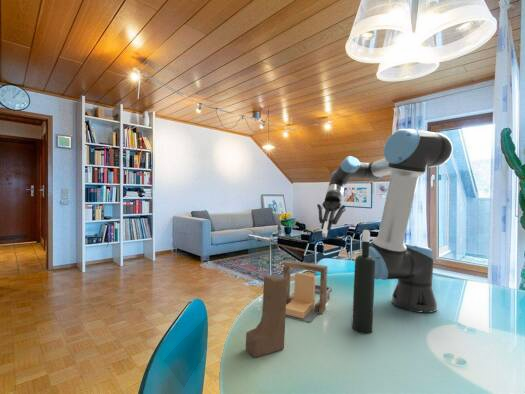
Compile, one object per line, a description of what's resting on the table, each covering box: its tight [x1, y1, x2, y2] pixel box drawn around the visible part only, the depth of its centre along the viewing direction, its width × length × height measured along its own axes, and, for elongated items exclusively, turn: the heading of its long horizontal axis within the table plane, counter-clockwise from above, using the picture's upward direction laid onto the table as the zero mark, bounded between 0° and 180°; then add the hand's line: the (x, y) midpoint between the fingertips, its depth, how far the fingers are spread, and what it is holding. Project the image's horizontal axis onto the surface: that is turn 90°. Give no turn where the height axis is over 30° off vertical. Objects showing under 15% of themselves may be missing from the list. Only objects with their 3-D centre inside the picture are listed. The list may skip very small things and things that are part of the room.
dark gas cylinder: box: [351, 229, 376, 335], centre depth 86 cm, size 6×6×30 cm
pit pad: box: [315, 284, 333, 295], centre depth 121 cm, size 8×8×1 cm
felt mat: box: [285, 308, 320, 324], centre depth 96 cm, size 11×12×1 cm
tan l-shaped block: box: [286, 272, 317, 319], centre depth 97 cm, size 12×7×11 cm, turn 153°
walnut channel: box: [282, 259, 331, 315], centre depth 107 cm, size 16×15×16 cm
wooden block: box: [245, 274, 287, 358], centre depth 72 cm, size 9×4×18 cm, turn 122°
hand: (324, 235), depth 120 cm, fingers closed
